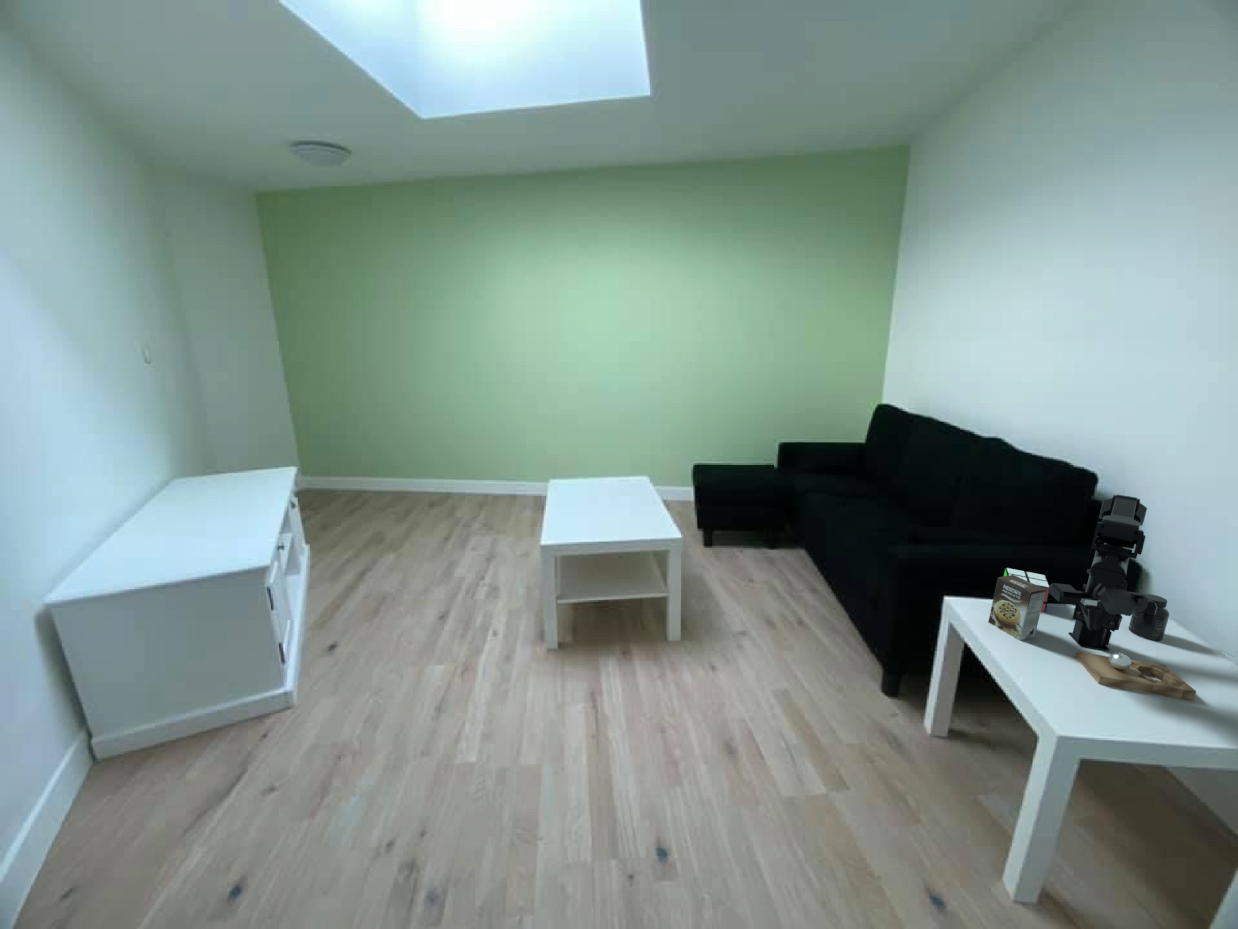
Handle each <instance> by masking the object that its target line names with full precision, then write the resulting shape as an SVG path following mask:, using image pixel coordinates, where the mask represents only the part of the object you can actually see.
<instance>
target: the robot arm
mask: <svg viewBox="0 0 1238 929" xmlns="http://www.w3.org/2000/svg"><path fill="white" fill-rule="evenodd" d="M1147 510H1148V508H1147V506H1145V505H1144V504H1143V503H1141V498H1138V497H1134V496H1130V495H1124V494H1123V495H1122V494H1113V495H1112V498H1107V499H1104V500H1102V503H1101V508H1100V510H1099V511H1100V512H1099V515H1098V518H1099V519H1101V521H1097V523H1096V525H1095V526H1096V528H1095V530H1094V534H1093V538H1092V542H1091V546H1090V550H1094V551H1095V553H1094V557H1093V561H1092V564H1091V567H1090V568H1087V570H1086V573H1087V574H1088V575H1089V576H1088V581H1087V583H1083V585H1082V588H1083V589H1084V590H1085V591H1082V590H1076V589H1075V587H1073V586H1072V585H1070V584H1064V583H1057V582H1054V583H1051V584H1049V590H1048V592H1049V593H1050V594H1049V595H1051V596H1052V597H1053V598H1054V599H1055V600H1056V601H1057V602H1058V603H1061V604H1065V605H1074V606H1075V607H1074V610H1073V616H1072V618H1071V619H1072V620H1075V622H1074V625H1073V629H1072V630H1073V631H1072V632H1068V633H1067V634H1068V635H1069V636H1070V637H1071V638H1072V639H1073V640H1074V641H1075V642H1076V644H1077V645H1078V646H1079V647H1081V648H1087V649H1094V650H1101V651H1108V652H1109V651H1110V650H1111V648H1110V647H1109V644H1110V642H1111V636H1112V633H1114V632H1115V631H1119V629H1120V627H1121V622H1122V620H1123V616H1127V617H1131V616H1132V614H1133V612H1134V611H1138V612H1140V613H1144V614H1152V615H1155V614H1156V611H1157V605H1156V603H1155V602H1154V601H1152V600H1151V599H1149V598H1148V597H1146V596H1145V595H1144V594H1145V593H1142V592H1132V591H1128V588H1127V587H1128V581H1127V580H1126V579H1127V573H1128V572H1127V571H1128V566H1129V561H1130V558H1131V559H1136V560H1137V558H1138V555H1140V556H1141V555H1142V552H1143V549H1144V544H1145V541H1146V535H1145V532H1144V530H1142V529H1140V526H1141V527H1142V526H1143V525H1144V523H1145V522H1144V521H1145V518H1146V514H1147V512H1148V511H1147ZM1096 542H1097V544H1096ZM1133 549H1134V551H1133Z"/></svg>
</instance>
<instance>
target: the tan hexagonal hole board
mask: <svg viewBox="0 0 1238 929" xmlns="http://www.w3.org/2000/svg"><path fill="white" fill-rule="evenodd" d="M1075 659H1076V660H1077V661H1078V662H1079V663H1080V665H1081V666H1082V667H1083V668H1084V669H1085V670H1086V671H1087V672H1088V674H1089V675H1090V676H1091V677H1092V678H1093V679H1094V681H1096V683H1097V684H1098V685H1104V686H1108V687H1114V688H1119V689H1125V690H1129V691H1131V690H1132V691H1136V692H1140V693H1141V692H1142V693H1146V694H1147V693H1148V694H1152V695H1158V696H1162V697H1163V696H1164V697H1170V698H1176V699H1181V700H1187V701H1194V700H1195V697H1196V693H1197V690H1195V689H1194V688H1193V687H1192V686H1191V685H1190V684H1188V683H1187V682H1186V681H1185V680H1183V678H1181V677H1180V676H1179V675H1177V674H1176V673H1175V672H1174V671H1173V670H1171V669H1170V668H1169V667H1168V666H1167V665H1166V664H1162V663H1155V662H1154V663H1153V662H1150V661H1149V662H1147V661H1141V660H1133V659H1130V660H1131V662H1132V665H1131V667H1130V668H1129V669H1127V670H1119V669H1117V668H1115V667H1113V666H1112V665H1111V664H1110V662H1109V656H1106V655H1101V654H1099V655H1098V654H1091V653H1085V652H1081V651H1080V652H1079V651H1077V652H1076V654H1075ZM1147 675H1148V676H1147Z"/></svg>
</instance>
